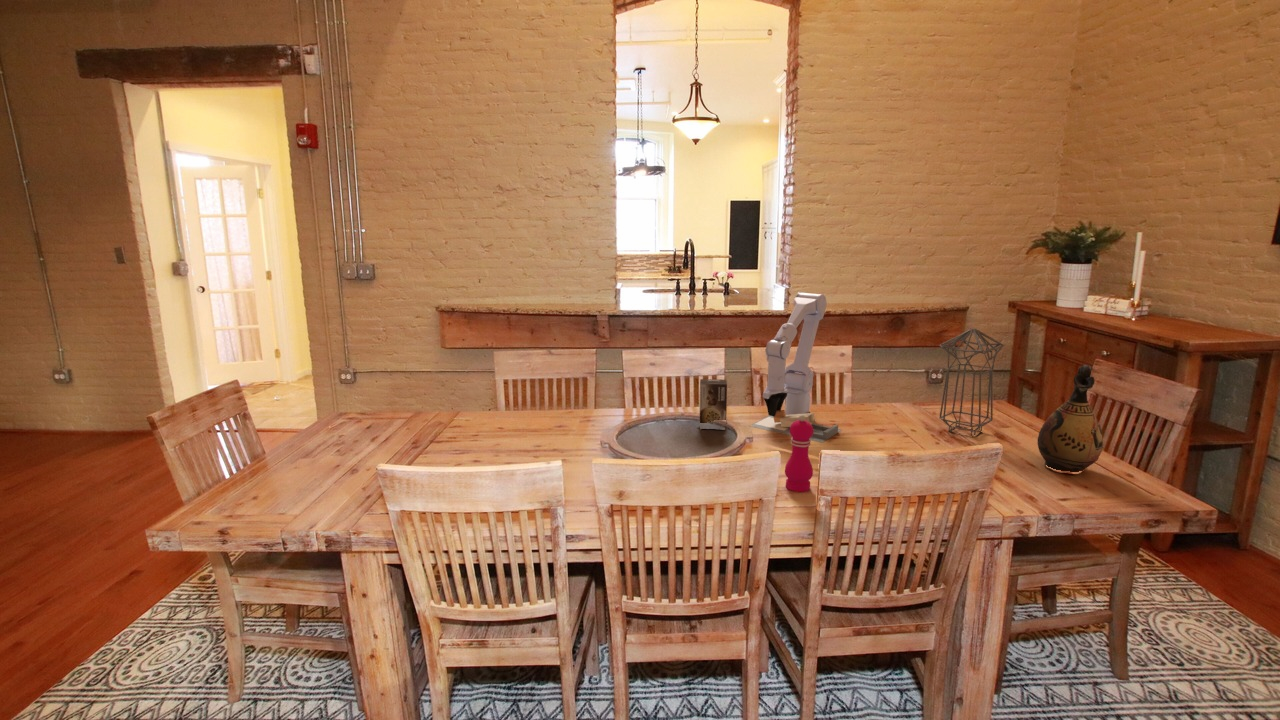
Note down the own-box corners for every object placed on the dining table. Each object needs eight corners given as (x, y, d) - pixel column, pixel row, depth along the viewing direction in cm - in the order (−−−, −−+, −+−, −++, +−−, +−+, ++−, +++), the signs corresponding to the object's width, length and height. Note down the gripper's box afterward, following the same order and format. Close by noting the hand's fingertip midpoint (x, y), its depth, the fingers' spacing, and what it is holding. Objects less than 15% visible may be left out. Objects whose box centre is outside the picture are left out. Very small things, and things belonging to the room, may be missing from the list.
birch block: (780, 424, 224) (777, 409, 224) (815, 421, 216) (812, 407, 216) (774, 427, 220) (771, 413, 220) (809, 425, 212) (806, 410, 212)
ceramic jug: (1099, 484, 176) (1118, 376, 169) (1033, 472, 184) (1048, 368, 177) (1096, 464, 190) (1113, 364, 184) (1034, 453, 198) (1049, 357, 191)
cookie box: (725, 424, 223) (727, 379, 220) (726, 430, 217) (728, 384, 214) (698, 423, 224) (700, 378, 221) (698, 429, 218) (700, 383, 214)
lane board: (770, 416, 232) (771, 408, 232) (841, 432, 217) (842, 422, 216) (748, 428, 220) (749, 419, 219) (822, 445, 204) (823, 435, 204)
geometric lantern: (979, 443, 207) (989, 334, 200) (930, 432, 219) (937, 328, 211) (998, 432, 217) (1009, 328, 210) (951, 422, 229) (959, 323, 221)
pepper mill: (780, 482, 176) (784, 411, 172) (806, 481, 177) (811, 410, 172) (788, 493, 169) (793, 419, 165) (815, 492, 170) (821, 419, 165)
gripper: (777, 381, 211) (775, 421, 214) (796, 373, 222) (794, 411, 225) (757, 378, 215) (756, 417, 218) (777, 370, 227) (775, 407, 230)
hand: (774, 414), depth 222 cm, fingers closed on birch block, 3 cm apart
